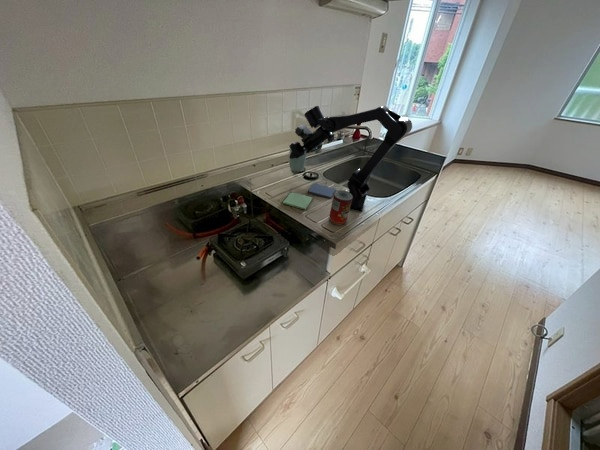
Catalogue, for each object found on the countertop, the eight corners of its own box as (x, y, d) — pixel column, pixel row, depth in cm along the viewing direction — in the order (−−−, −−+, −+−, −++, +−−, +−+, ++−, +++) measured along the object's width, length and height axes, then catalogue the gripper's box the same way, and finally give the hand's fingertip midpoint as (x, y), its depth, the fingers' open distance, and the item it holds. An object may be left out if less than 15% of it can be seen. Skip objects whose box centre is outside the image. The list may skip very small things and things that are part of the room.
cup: (286, 171, 112) (288, 150, 107) (290, 165, 119) (291, 145, 113) (303, 174, 112) (305, 153, 106) (305, 167, 118) (307, 147, 112)
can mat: (335, 190, 115) (335, 188, 115) (330, 198, 108) (331, 197, 108) (313, 184, 117) (313, 183, 117) (308, 192, 111) (308, 191, 110)
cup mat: (312, 199, 106) (312, 197, 106) (305, 210, 99) (305, 208, 98) (291, 193, 108) (291, 191, 108) (282, 203, 101) (282, 202, 100)
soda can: (340, 228, 91) (347, 200, 84) (325, 220, 94) (330, 192, 87) (349, 220, 95) (356, 193, 88) (334, 213, 99) (340, 186, 91)
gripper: (320, 117, 106) (298, 136, 117) (294, 123, 93) (273, 144, 105) (332, 139, 107) (309, 156, 119) (308, 148, 95) (286, 166, 106)
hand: (295, 155), depth 112 cm, fingers closed on cup, 8 cm apart
